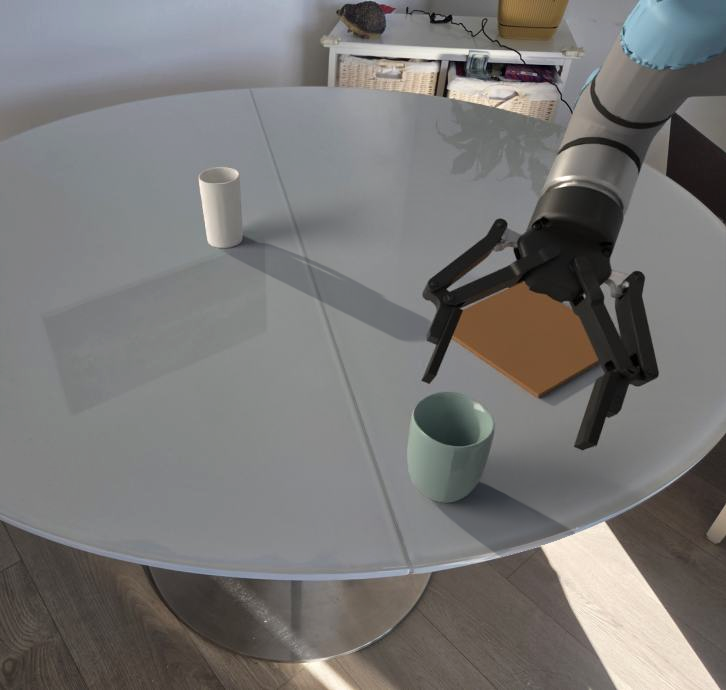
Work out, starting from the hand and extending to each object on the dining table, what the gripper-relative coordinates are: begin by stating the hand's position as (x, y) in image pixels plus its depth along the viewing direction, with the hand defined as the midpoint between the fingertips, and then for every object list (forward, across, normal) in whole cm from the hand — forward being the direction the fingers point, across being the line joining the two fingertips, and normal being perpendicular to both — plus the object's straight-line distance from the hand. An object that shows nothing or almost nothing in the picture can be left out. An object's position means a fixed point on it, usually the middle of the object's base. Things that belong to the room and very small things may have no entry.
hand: (504, 412), depth 53 cm
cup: (+5, 0, -17) cm, 18 cm away
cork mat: (-22, -6, -31) cm, 38 cm away
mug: (-26, +45, -48) cm, 71 cm away
